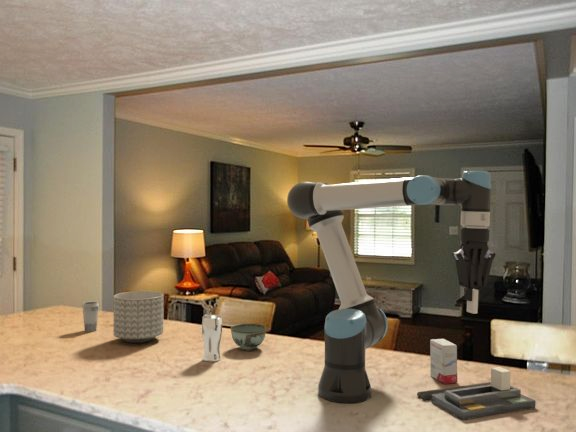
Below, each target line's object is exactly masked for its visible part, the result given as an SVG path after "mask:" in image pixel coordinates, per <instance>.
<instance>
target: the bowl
mask: <svg viewBox="0 0 576 432" xmlns="http://www.w3.org/2000/svg"><path fill="white" fill-rule="evenodd" d="M229 330H230V333H231V338H232V340H233V341H234V343H235V345H236V346H238V347H239V349H240V350H241V351H244V352H245V351H246V352H247V351H248V352H250V351H255V350H257V347H259V346H260V345H261V344H262V343H263V342H264V340H265V338H266V333H267V327H266V326H265V325H264V324H261V323H260V324H259V323H241V324H235V325H232V326H231V327H230V329H229Z"/></svg>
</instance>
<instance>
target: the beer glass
mask: <svg viewBox="0 0 576 432" xmlns="http://www.w3.org/2000/svg"><path fill="white" fill-rule="evenodd" d="M222 323H223V321H222V315H219V314H205V315H203V316H202V322H201V337H202V342H203V355H202V356H203V357H202V360H203V361H204V362H209V363H210V362H211V363H212V362H213V363H215V362H218V361H220V360H221V359H222V357H221V352H220V345H221V340H222V335H223V334H222V333H223V324H222Z"/></svg>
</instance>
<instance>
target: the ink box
mask: <svg viewBox="0 0 576 432" xmlns="http://www.w3.org/2000/svg"><path fill="white" fill-rule="evenodd" d="M429 342H430V343H429V348H430V353H429V354H430V355H429V356H430V357H429V358H430V359H429V360H430V363H429V364H430V366H429V367H430V368H429V371H430V377H432V378H433V379H435V380H437V381H439V382H441V383H442V384H445V385H446V384H454V383H458V351H457V350H458V347H457V344H455V343H453V342H451V341H449V340H447V339H445V338H436V339H435V338H432V339H430V341H429Z"/></svg>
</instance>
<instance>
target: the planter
mask: <svg viewBox="0 0 576 432" xmlns="http://www.w3.org/2000/svg"><path fill="white" fill-rule="evenodd" d="M164 296H165V295H164V293H162V292H159V291H152V290H137V291H136V290H135V291H125V292H119V293H116V294H114V295H113V336H114V337H115V338H118V339H121V340H122V341H125V342H127V343H129V344H144V343H147V342H149V341H153V339H155V338H156V337H158V336H160V335H162V334H163V333H164V312H165V311H164V305H165V304H164V302H165V301H164Z"/></svg>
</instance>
